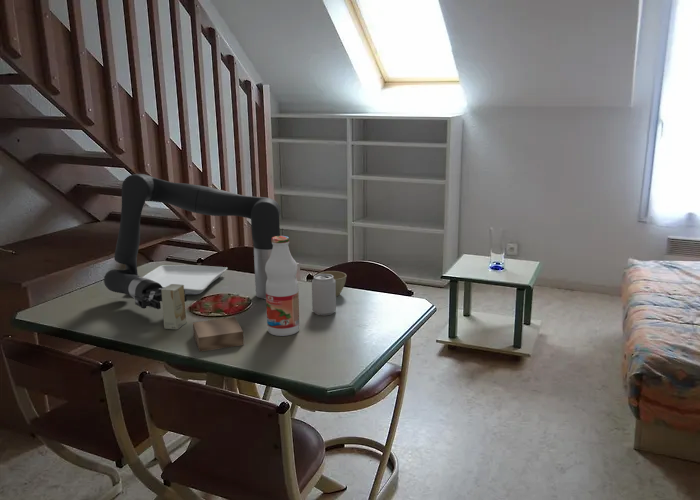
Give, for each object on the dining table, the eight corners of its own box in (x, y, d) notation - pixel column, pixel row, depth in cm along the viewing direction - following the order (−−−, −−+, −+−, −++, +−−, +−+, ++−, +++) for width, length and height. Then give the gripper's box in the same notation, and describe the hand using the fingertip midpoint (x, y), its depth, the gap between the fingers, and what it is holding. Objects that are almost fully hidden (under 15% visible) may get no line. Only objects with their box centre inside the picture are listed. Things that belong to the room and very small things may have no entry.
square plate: (161, 273, 237) (160, 263, 236) (229, 275, 234) (228, 266, 233) (127, 296, 211) (126, 285, 210) (203, 299, 208) (202, 288, 207)
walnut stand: (235, 329, 180) (234, 316, 179) (243, 344, 169) (243, 331, 168) (193, 335, 176) (192, 322, 175) (199, 351, 165) (198, 337, 164)
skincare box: (177, 330, 180) (174, 290, 177) (163, 329, 181) (160, 289, 178) (187, 322, 186) (184, 284, 183) (174, 321, 187) (170, 283, 184)
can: (340, 310, 195) (339, 274, 192) (329, 317, 189) (328, 280, 186) (319, 306, 199) (318, 271, 196) (308, 314, 192) (307, 277, 189)
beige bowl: (336, 301, 203) (336, 281, 202) (311, 296, 209) (311, 276, 207) (352, 293, 212) (352, 273, 210) (328, 288, 217) (327, 269, 215)
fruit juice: (306, 330, 179) (303, 237, 172) (280, 339, 173) (276, 243, 166) (286, 322, 186) (283, 232, 178) (261, 330, 179) (256, 237, 172)
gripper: (122, 284, 187) (149, 296, 176) (165, 274, 197) (192, 284, 186) (125, 307, 189) (151, 320, 178) (167, 296, 199) (194, 308, 188)
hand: (172, 302), depth 182 cm, fingers open, 8 cm apart
